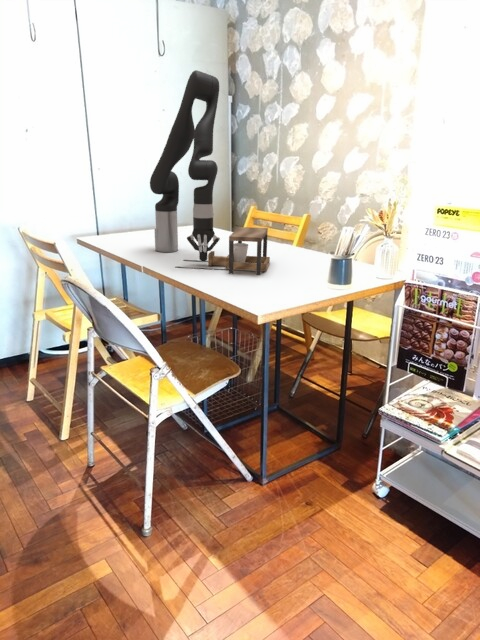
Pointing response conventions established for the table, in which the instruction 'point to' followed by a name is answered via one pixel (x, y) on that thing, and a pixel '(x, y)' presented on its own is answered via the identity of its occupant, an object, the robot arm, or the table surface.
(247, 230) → the small wooden stool
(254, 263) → the tray
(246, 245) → the cup
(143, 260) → the table surface
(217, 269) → the rails
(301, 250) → the table surface
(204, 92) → the robot arm
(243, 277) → the table surface
